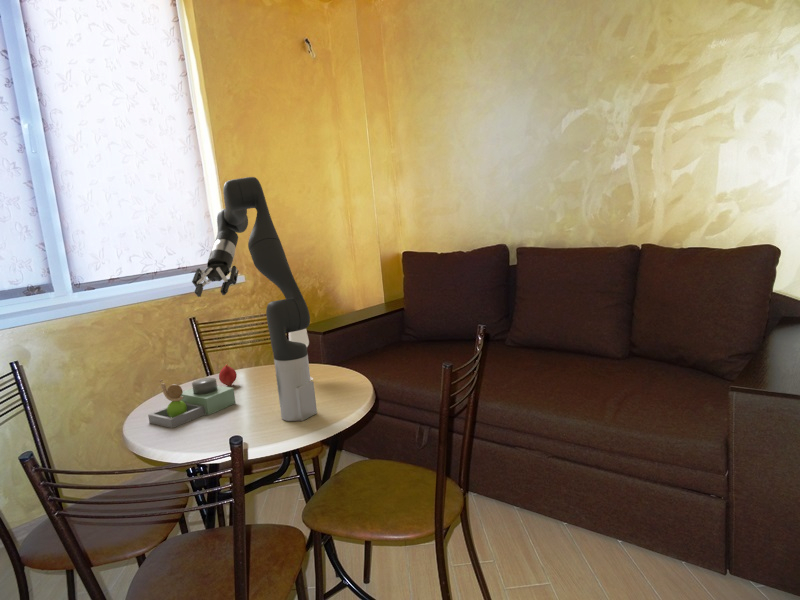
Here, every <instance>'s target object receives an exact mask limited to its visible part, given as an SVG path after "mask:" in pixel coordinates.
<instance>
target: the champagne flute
mask: <svg viewBox="0 0 800 600" xmlns="http://www.w3.org/2000/svg"><path fill="white" fill-rule="evenodd" d="M308 335H309V334H308V331H307V328H306V329H303V330H299V331H294V332H289V333H288V340H289V341H292V342H299V343H303V344H305V345H306V347H307V348H308V347H309V345H310V340H309V336H308ZM310 379H311V380H312V381H314V377H312V376H310Z"/></svg>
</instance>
